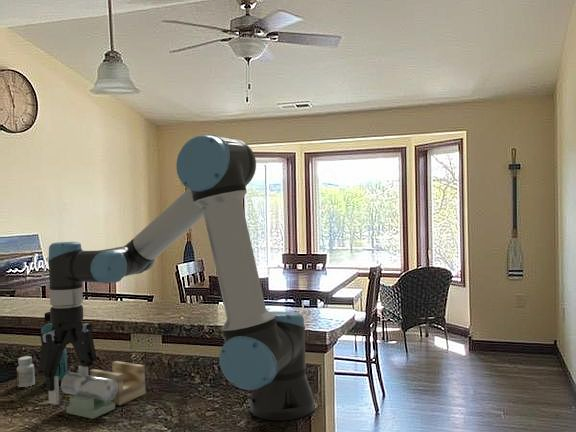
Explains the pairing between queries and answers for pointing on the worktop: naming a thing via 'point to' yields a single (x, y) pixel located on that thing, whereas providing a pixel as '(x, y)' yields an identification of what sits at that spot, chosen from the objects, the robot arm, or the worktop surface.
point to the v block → (88, 406)
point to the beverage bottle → (63, 361)
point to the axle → (89, 386)
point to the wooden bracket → (125, 380)
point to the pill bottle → (25, 372)
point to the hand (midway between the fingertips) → (69, 397)
